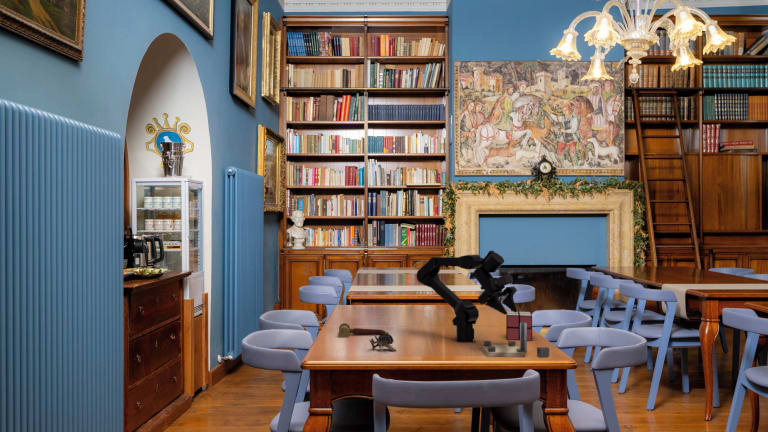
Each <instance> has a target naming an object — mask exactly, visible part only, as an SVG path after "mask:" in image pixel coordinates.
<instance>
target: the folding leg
mask: <svg viewBox="0 0 768 432" xmlns="http://www.w3.org/2000/svg"><path fill="white" fill-rule="evenodd" d="M524 338H525V350H526V352H527V351H528V343H527V342H528V341H527V323H524ZM519 348H520V349H521V323H520V340H519Z"/></svg>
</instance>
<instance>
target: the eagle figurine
mask: <svg viewBox="0 0 768 432" xmlns="http://www.w3.org/2000/svg"><path fill="white" fill-rule="evenodd" d="M373 336H374V338H375V340H374V338H373V337H372V338H371V339H368V340H369V343H370V344H371V346H372V350H375V348H379V350H380V352H381V353H382V352H383V350H384V348H388V349H389V350H390V351H392V352H397V349H396V348H394V347H393V346H392V344H393V343H394V338H393V336H392V335H391V334H390V333H389V334H383V335H378V337H377V335H373Z"/></svg>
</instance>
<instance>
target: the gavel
mask: <svg viewBox="0 0 768 432" xmlns="http://www.w3.org/2000/svg"><path fill="white" fill-rule="evenodd" d="M350 334H351V335H359V336H360V335H362V336H380V335H383V334H389V335H390V333H389V331H386V330H383V329H378V328H377V329H376V328H375V329H373V328H358V327H356V328H355V327H353V328H351V327H350V325H349V324H348V323H347V322H344V323H341V324H340V325H339V326H338V336H339V337H340V338H345V339H346V338H349V336H350Z"/></svg>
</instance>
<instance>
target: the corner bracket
mask: <svg viewBox="0 0 768 432" xmlns="http://www.w3.org/2000/svg"><path fill="white" fill-rule="evenodd" d="M536 356H537V357H539V358H548V357H550V347H548V346H537V347H536Z"/></svg>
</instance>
